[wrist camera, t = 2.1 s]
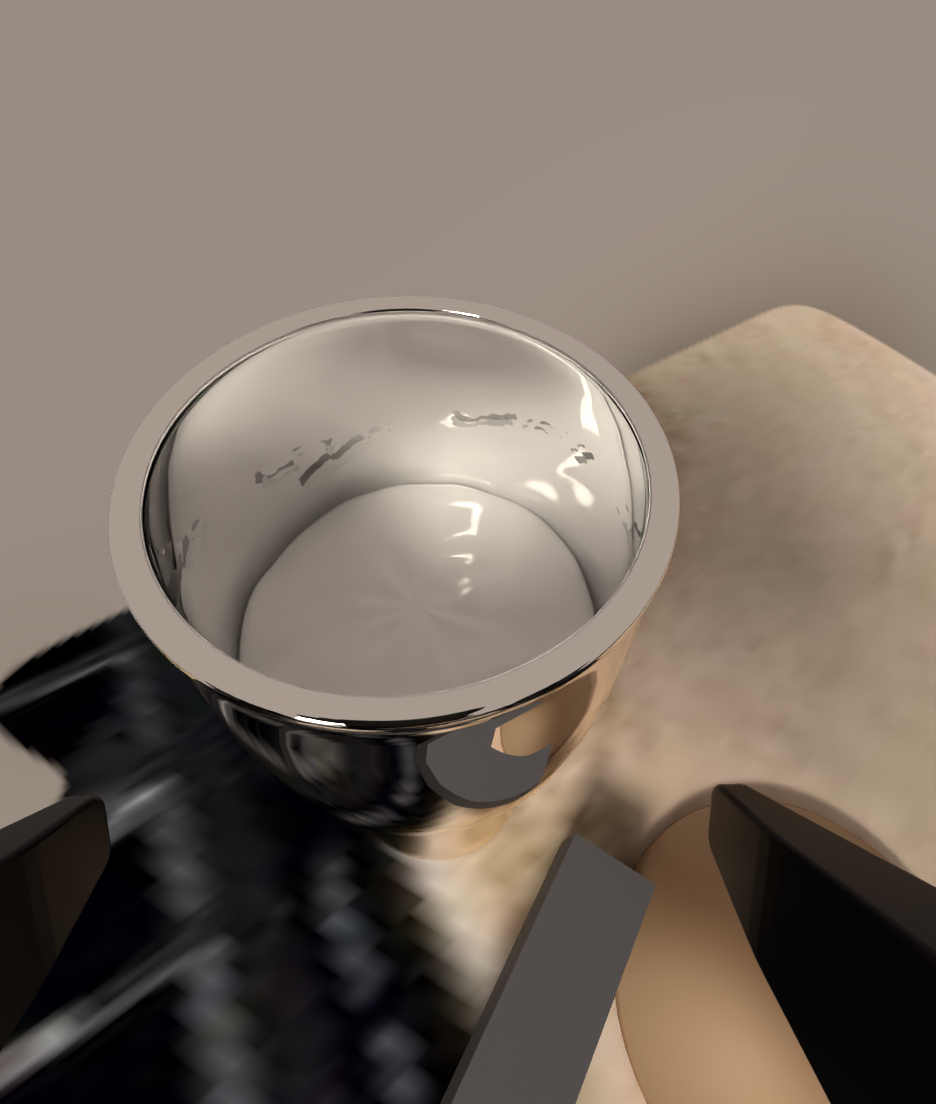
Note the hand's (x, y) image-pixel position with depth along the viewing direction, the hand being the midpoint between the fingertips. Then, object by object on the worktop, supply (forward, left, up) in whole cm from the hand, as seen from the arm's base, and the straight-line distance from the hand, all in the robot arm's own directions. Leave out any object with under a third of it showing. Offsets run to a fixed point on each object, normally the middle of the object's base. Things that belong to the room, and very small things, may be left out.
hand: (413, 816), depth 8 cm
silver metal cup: (+3, +2, -11) cm, 12 cm away
